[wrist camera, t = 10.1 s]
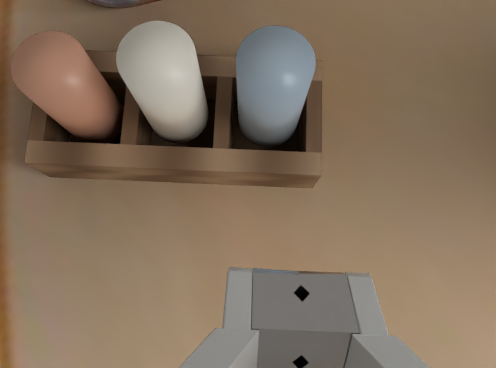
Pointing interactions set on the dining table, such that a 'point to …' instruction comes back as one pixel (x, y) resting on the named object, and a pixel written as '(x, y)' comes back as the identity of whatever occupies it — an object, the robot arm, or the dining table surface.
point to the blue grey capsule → (272, 83)
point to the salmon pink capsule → (67, 86)
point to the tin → (121, 3)
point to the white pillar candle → (164, 79)
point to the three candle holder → (180, 158)
